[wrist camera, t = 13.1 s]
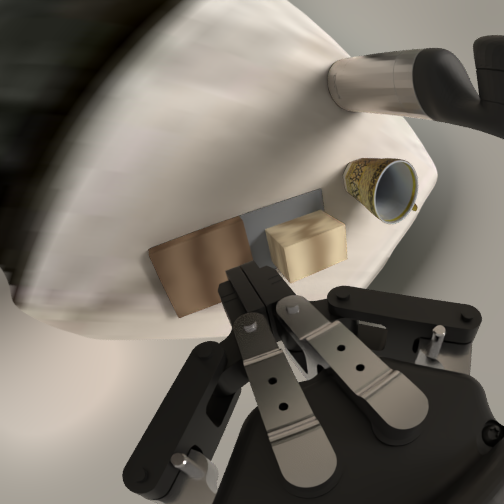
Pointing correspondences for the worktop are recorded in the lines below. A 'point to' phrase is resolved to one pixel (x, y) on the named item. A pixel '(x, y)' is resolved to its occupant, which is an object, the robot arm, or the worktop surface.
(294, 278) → the block
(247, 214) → the mat
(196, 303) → the brown flat slab
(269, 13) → the worktop surface
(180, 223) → the worktop surface
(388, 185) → the ceramic cup
